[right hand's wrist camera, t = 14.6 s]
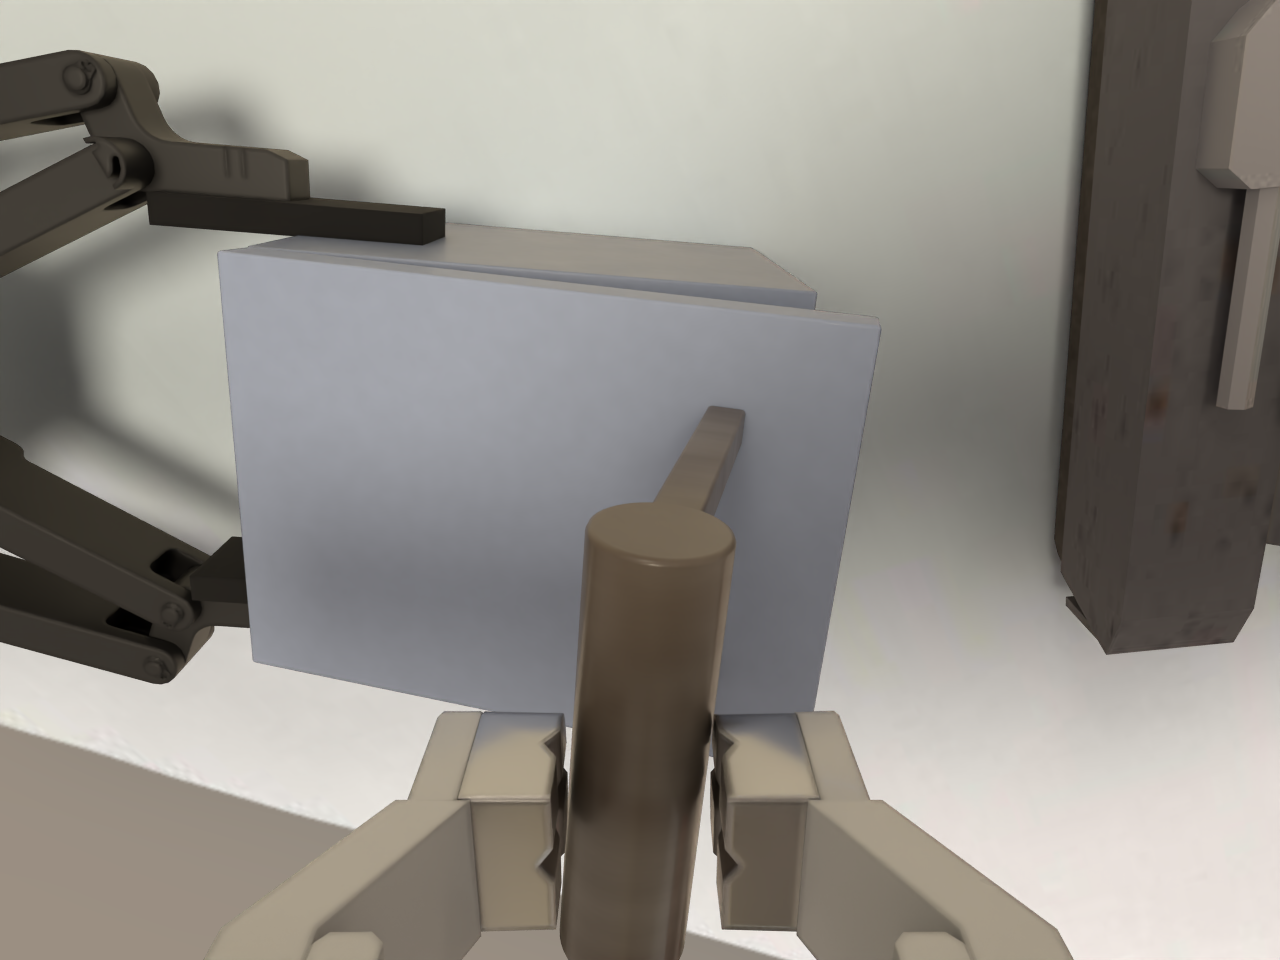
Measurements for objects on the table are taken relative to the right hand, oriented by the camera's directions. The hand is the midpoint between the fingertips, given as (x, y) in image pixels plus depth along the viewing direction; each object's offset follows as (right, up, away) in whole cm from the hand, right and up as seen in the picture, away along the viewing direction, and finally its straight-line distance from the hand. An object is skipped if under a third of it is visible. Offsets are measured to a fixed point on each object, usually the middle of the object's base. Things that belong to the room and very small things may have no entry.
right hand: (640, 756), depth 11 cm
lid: (-2, +3, +8) cm, 9 cm away
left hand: (-6, +5, +13) cm, 15 cm away
